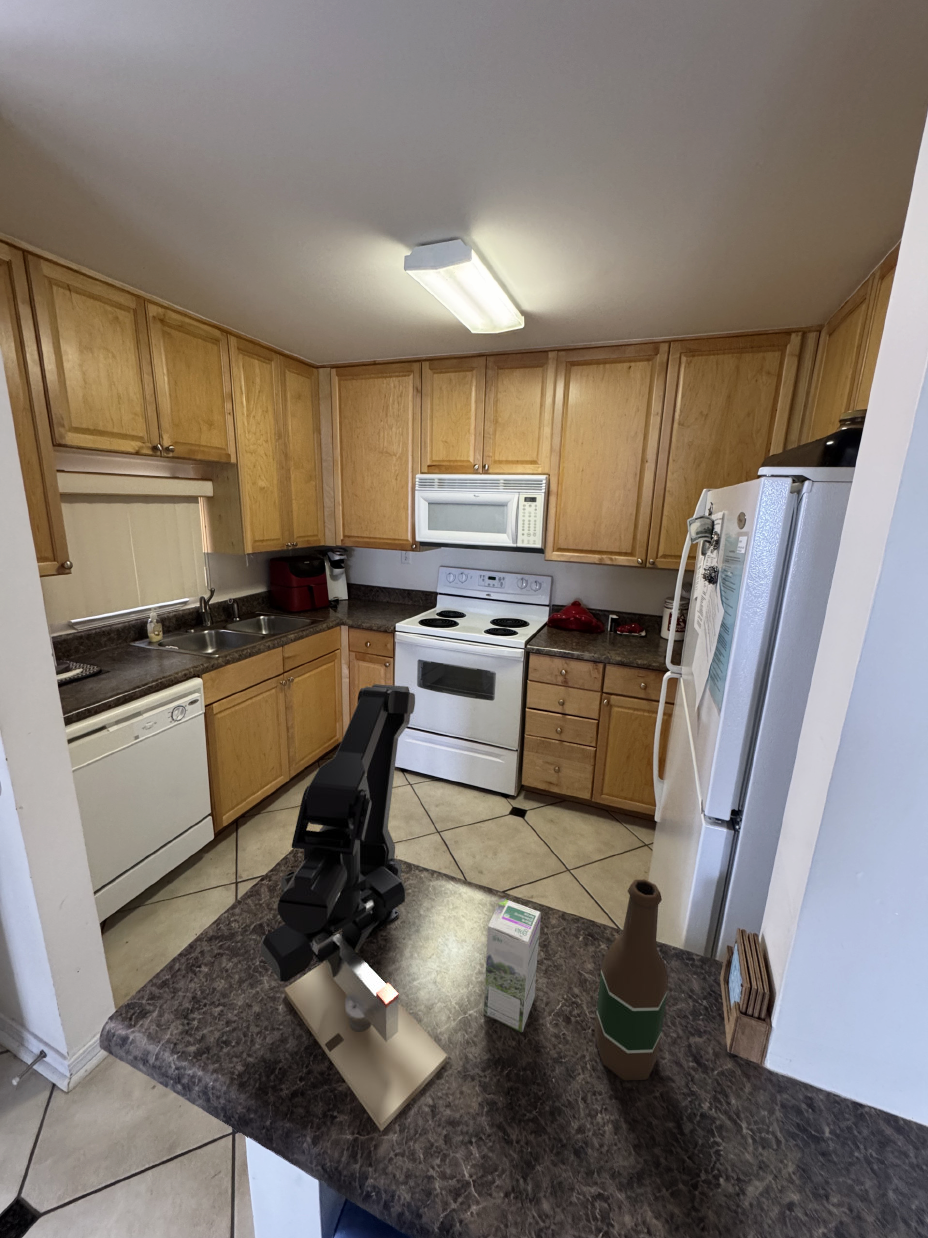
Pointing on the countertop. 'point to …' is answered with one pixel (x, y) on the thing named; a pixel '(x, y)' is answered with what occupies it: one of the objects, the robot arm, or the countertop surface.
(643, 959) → the beer bottle
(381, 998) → the grey rectangular bar
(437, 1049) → the post board
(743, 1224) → the countertop surface
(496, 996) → the syrup box
